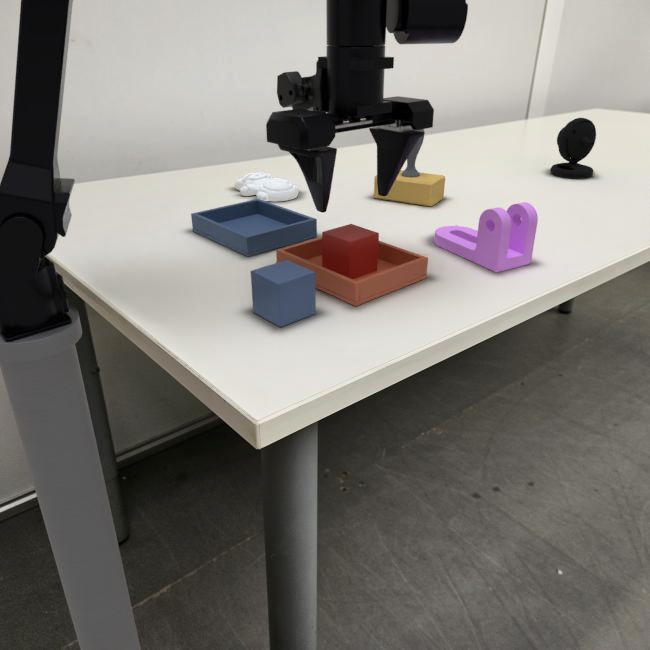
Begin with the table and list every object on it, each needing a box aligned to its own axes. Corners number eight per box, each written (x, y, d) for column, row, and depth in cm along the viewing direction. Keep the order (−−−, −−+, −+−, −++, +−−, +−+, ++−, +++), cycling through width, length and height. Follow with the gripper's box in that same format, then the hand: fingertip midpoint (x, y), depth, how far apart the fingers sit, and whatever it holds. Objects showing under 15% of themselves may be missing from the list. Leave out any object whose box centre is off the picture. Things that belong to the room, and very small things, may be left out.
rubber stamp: (444, 198, 98) (451, 120, 93) (431, 207, 94) (437, 126, 89) (388, 190, 103) (391, 116, 97) (372, 198, 98) (375, 121, 93)
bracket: (530, 263, 73) (540, 206, 70) (496, 272, 70) (504, 214, 67) (457, 233, 83) (463, 182, 80) (425, 240, 80) (429, 187, 77)
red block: (349, 280, 67) (349, 241, 65) (322, 269, 70) (321, 231, 68) (377, 270, 70) (379, 232, 68) (350, 260, 73) (351, 223, 71)
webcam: (571, 167, 118) (581, 113, 113) (602, 176, 112) (614, 119, 107) (540, 172, 115) (549, 116, 110) (570, 180, 109) (581, 122, 104)
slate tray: (248, 256, 75) (246, 237, 74) (192, 231, 84) (190, 213, 83) (317, 237, 82) (316, 218, 80) (258, 215, 90) (258, 198, 89)
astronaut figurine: (269, 181, 108) (269, 164, 107) (308, 196, 99) (308, 178, 98) (225, 189, 103) (224, 171, 102) (262, 205, 95) (261, 186, 93)
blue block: (280, 327, 58) (278, 284, 56) (252, 312, 61) (250, 270, 59) (315, 313, 61) (315, 272, 59) (287, 299, 64) (286, 259, 62)
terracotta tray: (355, 306, 62) (355, 283, 61) (276, 270, 71) (275, 249, 70) (426, 278, 69) (428, 257, 68) (346, 248, 78) (347, 229, 77)
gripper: (365, 40, 70) (362, 176, 77) (228, 46, 59) (239, 204, 66) (442, 43, 63) (430, 193, 70) (301, 51, 52) (305, 228, 59)
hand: (353, 203), depth 66 cm, fingers open, 9 cm apart
